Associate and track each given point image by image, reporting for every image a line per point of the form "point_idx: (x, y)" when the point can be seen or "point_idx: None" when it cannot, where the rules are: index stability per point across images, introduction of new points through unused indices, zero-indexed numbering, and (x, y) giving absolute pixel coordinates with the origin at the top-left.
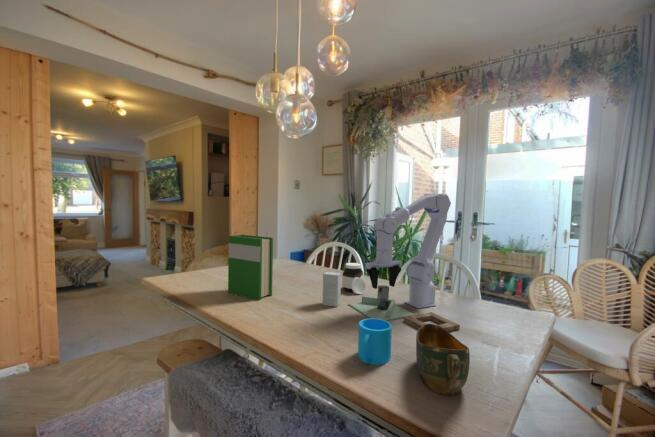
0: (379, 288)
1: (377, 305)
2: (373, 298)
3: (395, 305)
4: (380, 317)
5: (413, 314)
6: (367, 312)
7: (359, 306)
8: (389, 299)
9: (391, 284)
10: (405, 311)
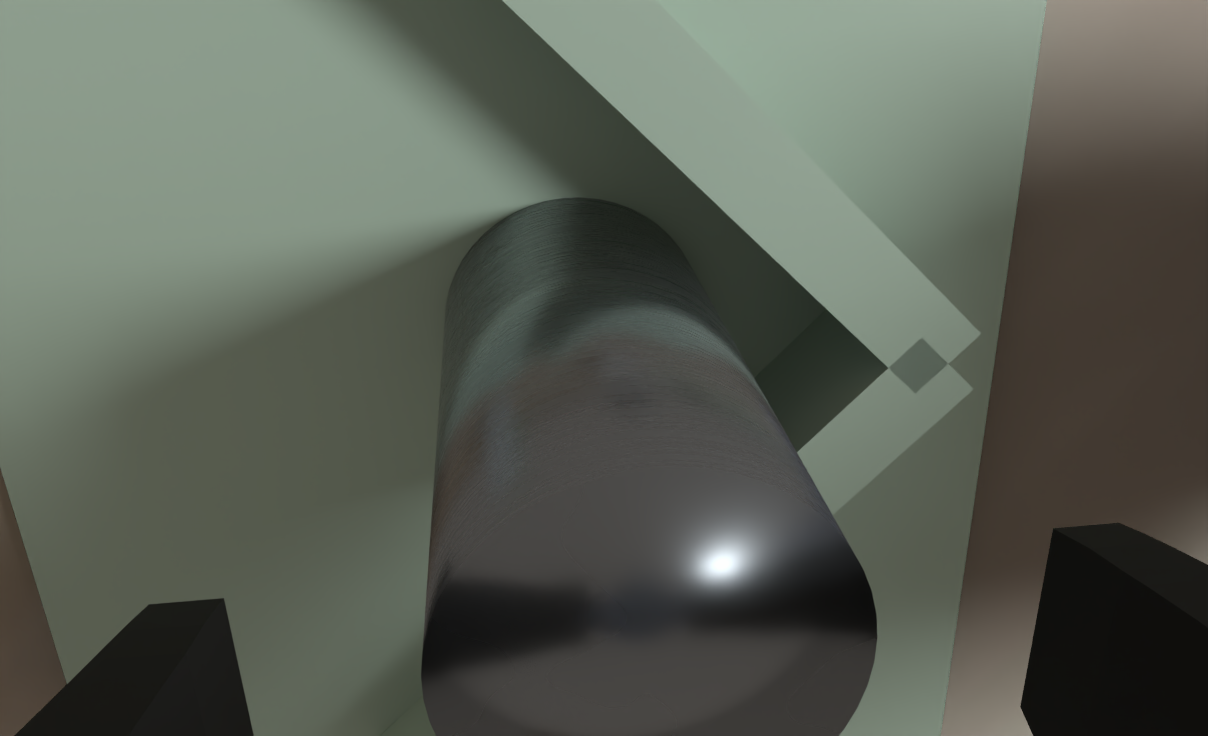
0: (430, 698)
1: (446, 322)
2: (511, 3)
3: (987, 238)
4: (252, 720)
5: (912, 733)
6: (93, 451)
7: (33, 9)
8: (879, 288)
9: (1071, 681)
10: (899, 591)
